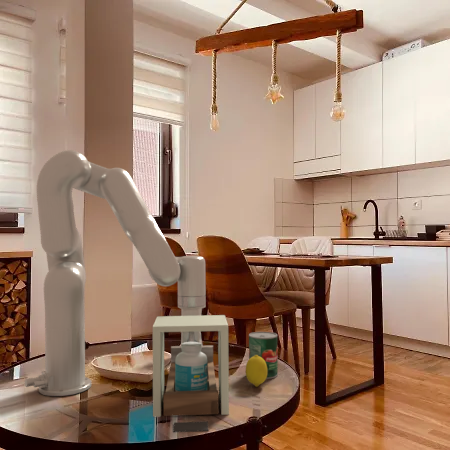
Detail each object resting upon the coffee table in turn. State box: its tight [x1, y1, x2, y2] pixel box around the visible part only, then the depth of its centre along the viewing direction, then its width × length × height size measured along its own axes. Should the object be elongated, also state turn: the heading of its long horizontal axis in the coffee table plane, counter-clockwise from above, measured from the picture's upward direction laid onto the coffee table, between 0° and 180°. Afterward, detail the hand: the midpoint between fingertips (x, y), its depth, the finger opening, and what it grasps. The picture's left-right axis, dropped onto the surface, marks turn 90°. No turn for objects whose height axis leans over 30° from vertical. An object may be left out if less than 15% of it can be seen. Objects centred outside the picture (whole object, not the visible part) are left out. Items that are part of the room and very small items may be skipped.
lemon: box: [245, 355, 267, 388], centre depth 119 cm, size 6×6×8 cm
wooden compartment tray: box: [163, 344, 219, 417], centre depth 115 cm, size 32×12×7 cm, turn 4°
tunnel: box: [152, 314, 230, 418], centre depth 106 cm, size 12×16×19 cm
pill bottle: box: [175, 342, 208, 391], centre depth 108 cm, size 8×7×14 cm
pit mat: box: [172, 420, 209, 433], centre depth 94 cm, size 4×7×1 cm, turn 94°
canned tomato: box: [248, 331, 279, 380], centre depth 128 cm, size 8×8×11 cm
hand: (192, 369), depth 126 cm, fingers closed
